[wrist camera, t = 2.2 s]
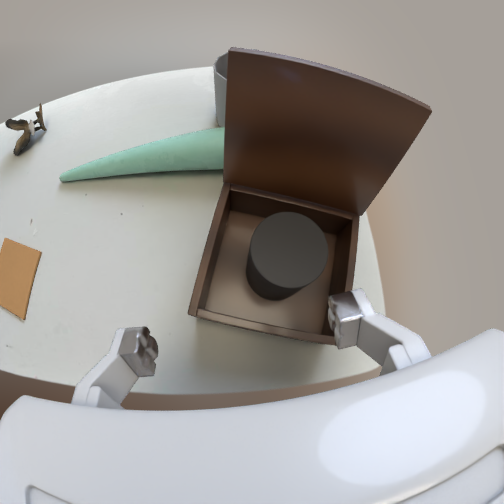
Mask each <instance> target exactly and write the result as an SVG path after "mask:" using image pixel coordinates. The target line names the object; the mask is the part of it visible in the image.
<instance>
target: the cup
mask: <svg viewBox="0 0 504 504" xmlns="http://www.w3.org/2000/svg"><path fill="white" fill-rule="evenodd" d="M251 50H255V49H251ZM258 51H259V50H258ZM227 64H228V52H226V53H225V54H223V55H221V56H219V57H218V58H217V60H216V61H215V63H214V84H215V101H216V116H217V121H218V125H219V126H220V127H225V104H226V82H227Z"/></svg>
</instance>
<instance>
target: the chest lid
mask: <svg viewBox="0 0 504 504" xmlns="http://www.w3.org/2000/svg"><path fill="white" fill-rule="evenodd" d="M431 113H432V110H431V108H430V106H428V105H426V104H424V103H422V102H420V101H418V100H416V99H414V98H412V97H410V96H408V95H406V94H403V93H401V92H399V91H397V90H394V89H392V88H390V87H387V86H385V85H382V84H380V83H377V82H375V81H372V80H369V79H367V78H364V77H361V76H358V75H356V74H352V73H349V72H347V71H343V70H340V69H337V68H334V67H330V66H327V65H323V64H320V63H316V62H312V61H308V60H304V59H300V58H295V57H291V56H286V55H281V54H276V53H270V52H264V51H258V50H251V49H244V48H236V47H231V48H230V49H229V51H228V64H227V82H226V104H225V130H224V166H223V182H225V183H230V184H235V185H240V186H245V187H249V188H254V189H258V190H263V191H267V192H272V193H276V194H280V195H284V196H289V197H293V198H297V199H301V200H305V201H309V202H313V203H316V204H320V205H324V206H328V207H331V208H335V209H339V210H342V211H346V212H349V213H353V214H356V215H360V216H362V215H363V213H364V212H365V211H366V209H367V208H368V207H369V205H370V204H371V202H372V201H373V200H374V198H375V197H376V195H377V194H378V193H379V191H380V190H381V189H382V187H383V186H384V184H385V183H386V181H387V180H388V178H389V177H390V176H391V174H392V173H393V171H394V170H395V168H396V167H397V166H398V164H399V162H400V161H401V160H402V158H403V157H404V155H405V154H406V152H407V150H408V149H409V147H410V146H411V144H412V143H413V141H414V140H415V138H416V137H417V135H418V134H419V132H420V131H421V129H422V127H423V126H424V124H425V123H426V121H427V119H428V118H429V116H430V114H431Z"/></svg>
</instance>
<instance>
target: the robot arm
mask: <svg viewBox="0 0 504 504" xmlns="http://www.w3.org/2000/svg"><path fill="white" fill-rule="evenodd" d="M328 304H329V307H330V308H329V309H328V320H329V324H330V327H331V330H332V331H334V339H335V342H336V344H337V347H338V349H343V348H347V347H351V346H355V345H357V347H358V348H360V349H361V350H362V351H363V352H365V353H366V354H367V355H368V356H370V357H371V358H372V359H373V360H375V361H376V362H377V363H378V364H380V365H381V366H382V370H381V373H380V375H379V377H376V378H373V379H369V380H366V381H363V382H360V383H356V384H352V385H349V386H345V387H342V388H337V389H334V390H330V391H325V392H321V393H317V394H312V395H308V396H303V397H298V398H293V399H287V400H281V401H275V402H269V403H262V404H255V405H248V406H239V407H229V408H218V409H204V410H182V411H145V410H144V411H143V410H125V409H124V408H122V407H121V406H120V404H121V402H122V401H123V399H124V398H125V397H126V395H127V394H128V392H129V391H130V390H131V388H132V387H133V385H134V384H135V383H136V381H137V380H138V378H139V377H147V376H154V374H155V368H156V364H155V362H154V360H155V359H156V358H157V357H158V345H157V342H156V340H155V339H154V338H153V337H152V336H150V335H149V334H150V331H149V329H148V328H147V327H132V328H121V329H117V330H116V332H115V335H114V338H113V341H112V344H111V347H110V350H109V353H108V355H105V356H104V357H103V358H102V359H101V360H100V361H99V362H98V363H97V364H96V365H95V366H94V367H93V368H92V369H91V370H90V371H89V372H88V373H87V374H86V375H85V376H84V377H83V378H82V379H81V380H80V382H79V383H78V384H77V386H76V389H75V392H74V395H73V398H72V402H71V404H67V403H61V402H55V401H50V400H45V399H40V398H35V397H31V396H26V395H24V396H21V397H20V398H19V399H17V400H16V401H15V402H14V403H13V404H12V405H11V406H10V407H9V408H8V409H7V410H6V411H5V413H4V415H3V416H2V418H1V421H0V504H504V332H502V331H500V330H498V329H495V328H492V329H489V330H486V331H485V332H483V333H481V334H479V335H477V336H475V337H473V338H471V339H469V340H467V341H465V342H463V343H461V344H459V345H457V346H455V347H453V348H451V349H449V350H446V351H444V352H442V353H440V354H438V355H435V356H433V357H432V356H431V354H430V352H429V351H428V349H427V347H426V345H425V344H424V342H423V340H422V338H421V337H420V335H418V334H416V333H414V332H413V331H411V330H409V329H407V328H405V327H404V326H402V325H400V324H398V323H396V322H395V321H393V320H391V319H389V318H387V317H386V316H384V315H382V314H380V313H377V314H376V312H375V311H374V309H373V307H372V305H371V303H370V301H369V300H368V298H367V296H366V294H365V292H364V291H363V289H361V288H360V289H356V290H352V291H347V292H343V293H339V294H335V295H331V296H328Z"/></svg>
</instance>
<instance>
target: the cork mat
mask: <svg viewBox="0 0 504 504" xmlns="http://www.w3.org/2000/svg"><path fill="white" fill-rule="evenodd" d="M41 253H42V252H40V251H37V250H35V249H32V248H30V247H27V246H25V245H22V244H19V243H17V242H15V241H12V240H10V239H7V238H5V239H4V242H3V245H2V248H1V251H0V305H1V306H3V307H4V308H6V309H7V310H9V311H10V312H12V313H14V314H15V315H17V316H18V317H20V318H22V319H23V320H25V316H26V311H27V306H28V302H29V297H30V293H31V289H32V285H33V281H34V277H35V273H36V270H37V266H38V263H39V260H40V256H41Z"/></svg>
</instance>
